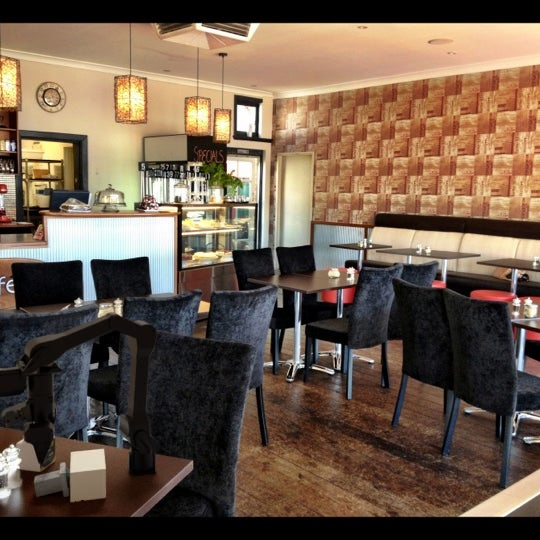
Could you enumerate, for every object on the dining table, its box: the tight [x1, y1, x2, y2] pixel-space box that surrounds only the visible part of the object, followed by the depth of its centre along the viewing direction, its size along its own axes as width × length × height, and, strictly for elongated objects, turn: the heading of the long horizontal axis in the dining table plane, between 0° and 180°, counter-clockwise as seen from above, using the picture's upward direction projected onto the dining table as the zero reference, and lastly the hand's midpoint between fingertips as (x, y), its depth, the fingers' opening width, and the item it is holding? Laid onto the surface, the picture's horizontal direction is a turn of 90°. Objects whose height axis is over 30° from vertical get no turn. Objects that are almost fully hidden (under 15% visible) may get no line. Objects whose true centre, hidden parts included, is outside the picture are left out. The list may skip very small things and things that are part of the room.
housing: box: [69, 448, 107, 503], centre depth 142 cm, size 8×12×7 cm, turn 18°
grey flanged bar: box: [33, 461, 70, 498], centre depth 141 cm, size 13×6×6 cm, turn 108°
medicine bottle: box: [15, 421, 56, 473], centre depth 154 cm, size 7×7×12 cm
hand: (42, 455), depth 138 cm, fingers open, 9 cm apart
